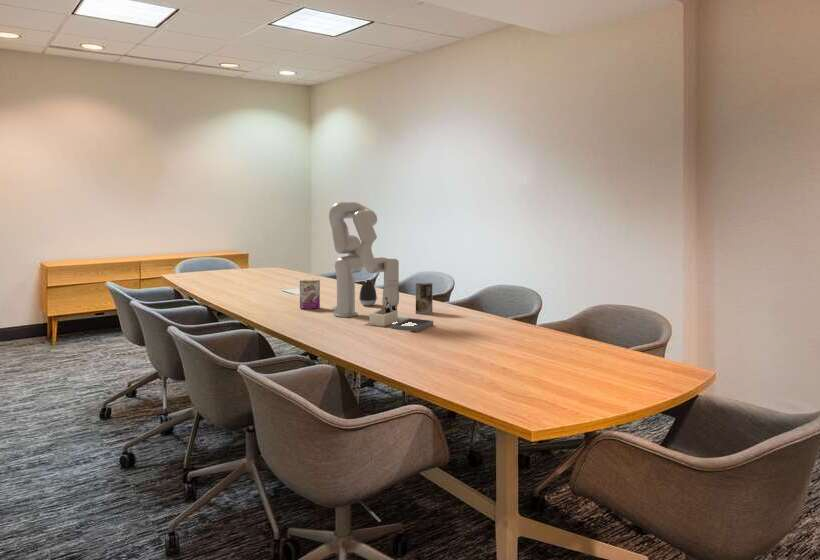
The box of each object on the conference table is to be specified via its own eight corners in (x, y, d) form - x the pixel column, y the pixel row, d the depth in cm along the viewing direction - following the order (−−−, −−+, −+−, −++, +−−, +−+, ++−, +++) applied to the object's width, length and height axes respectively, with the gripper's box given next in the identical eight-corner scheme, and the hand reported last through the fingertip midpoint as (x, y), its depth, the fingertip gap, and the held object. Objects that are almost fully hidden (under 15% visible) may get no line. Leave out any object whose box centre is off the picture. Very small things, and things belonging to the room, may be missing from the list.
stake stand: (362, 326, 298) (362, 310, 297) (379, 320, 313) (379, 304, 312) (386, 329, 292) (386, 312, 291) (402, 322, 308) (402, 307, 307)
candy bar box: (299, 309, 343) (299, 280, 341) (300, 307, 348) (299, 279, 345) (320, 308, 344) (319, 280, 342) (320, 307, 349) (319, 279, 347)
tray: (391, 329, 291) (391, 325, 291) (408, 322, 308) (409, 318, 308) (416, 332, 285) (416, 327, 285) (433, 325, 302) (433, 320, 302)
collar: (369, 324, 299) (369, 313, 298) (383, 319, 312) (383, 309, 311) (384, 326, 295) (384, 315, 295) (397, 321, 308) (397, 310, 307)
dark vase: (357, 304, 361) (357, 278, 358) (375, 303, 363) (375, 278, 361) (360, 307, 351) (360, 281, 349) (378, 306, 353) (378, 280, 351)
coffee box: (432, 311, 337) (433, 283, 335) (431, 314, 331) (432, 284, 329) (416, 311, 338) (416, 282, 336) (415, 313, 332) (415, 284, 330)
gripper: (392, 280, 317) (392, 315, 320) (376, 284, 302) (376, 321, 305) (405, 281, 314) (405, 316, 316) (390, 285, 299) (390, 322, 301)
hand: (391, 318), depth 310 cm, fingers open, 4 cm apart
